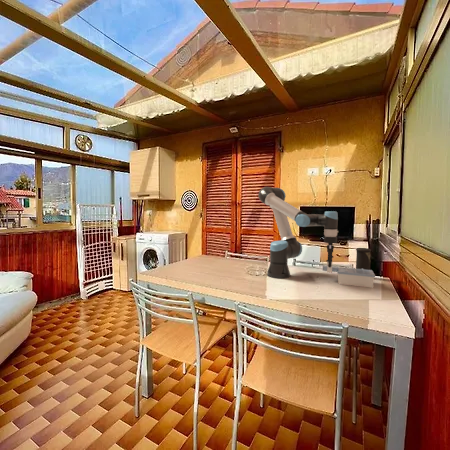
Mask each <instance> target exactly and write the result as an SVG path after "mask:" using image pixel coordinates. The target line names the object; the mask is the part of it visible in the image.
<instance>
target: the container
mask: <svg viewBox="0 0 450 450" xmlns="http://www.w3.org/2000/svg"><path fill="white" fill-rule="evenodd" d="M355 251H356V261H355V269H362V268H363V269H365V270H371V253H372V249H371V248H367V247H357V248H355Z"/></svg>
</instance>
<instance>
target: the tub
mask: <svg viewBox="0 0 450 450" xmlns="http://www.w3.org/2000/svg"><path fill="white" fill-rule="evenodd" d="M374 279H375V277H368V276H357V275H347V274H338V273H337V282H338V283H337V284H339V285H346V286H355V287H363V288H372V289H373V288H374Z"/></svg>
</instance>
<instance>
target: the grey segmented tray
mask: <svg viewBox="0 0 450 450" xmlns="http://www.w3.org/2000/svg"><path fill="white" fill-rule="evenodd" d="M322 271H324V272H327V265H322ZM333 272H334V273H337V275H338V274H347V275H357V276H368V277H374V278H375V277H376V274H375V273H374V271H373V270H372V269H370V270H365V269H363V268H362V269H356V267H352V268H351V267H348V266H344V267H341V266H334V265H332V273H333Z"/></svg>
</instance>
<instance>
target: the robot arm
mask: <svg viewBox="0 0 450 450" xmlns="http://www.w3.org/2000/svg"><path fill="white" fill-rule="evenodd" d="M257 195H258V196H257V197H258V199H259V201H260V202H261V203H263V204H265V205H266V206H269V207H268V208H270V209H271V210H272V213H273V216H274V218H275V222H276V223H275V224H276V225H277V229H278V232H279V235H280V238H281V239H280V240H274V241H271V243H270V247H269V251H270V252H269V259H270V260H269V266H268V268H267V271H266V272H267V273H266V276H267V277H269V278H274V279H287V278H290V277H291V272H290V268H289V266H288V261H289V260H288V259H294V258H297V257H299V256H300V255H301V254H302V253H303V246H302V244H301V242H299V240H297V237H296V236H294V235H293V231H292V228H291V225H290V224H291V223H290V221H289V219H291V220H292V221H294V222H295V224H296V225H297V227H300V228H301V227H302V228H306V227H324V228H323V229H324V230H323V231H324V232H323V235H324V237H323V243H326V244H327V245H326V251H327V259H326V260H325V261H326V262H327V263H326V264H327V265H326V266H327V271H326V272H327V273H331V274H332V273H333V271H332V266H333V258H334V255H333V253H334V248H335V245H334V244H337V243H338V233H339V230H338V221H339V217H338V212H337V211H336V210H335V211H334V210H333V211H332V210H331V211H329V210H328V211H327V210H326V211H324V213H323V214H318V213H316V214H315V213H311V214H310V213H309V214H307V213H306V212H304V211H302V210H300V209H299V208H298V207H295V206H294V205H292V204H290V203H288V202H287V201H285V200H286V196H287V195H286V193H285V191H284V189H282V188H280V187H271V186H264V187H262V188H261V189H259V191H258V194H257Z"/></svg>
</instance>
